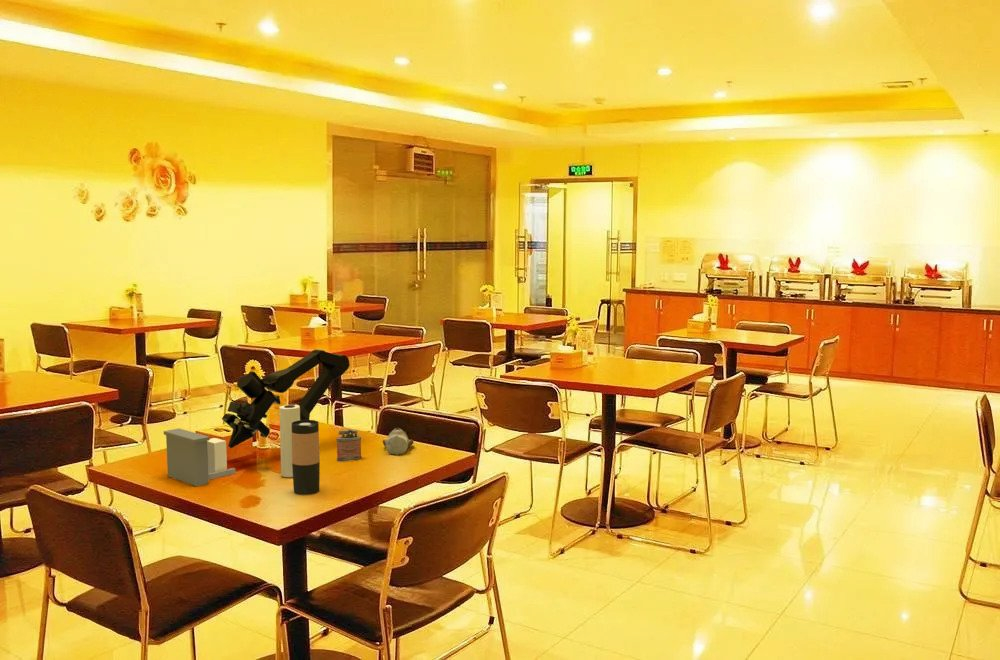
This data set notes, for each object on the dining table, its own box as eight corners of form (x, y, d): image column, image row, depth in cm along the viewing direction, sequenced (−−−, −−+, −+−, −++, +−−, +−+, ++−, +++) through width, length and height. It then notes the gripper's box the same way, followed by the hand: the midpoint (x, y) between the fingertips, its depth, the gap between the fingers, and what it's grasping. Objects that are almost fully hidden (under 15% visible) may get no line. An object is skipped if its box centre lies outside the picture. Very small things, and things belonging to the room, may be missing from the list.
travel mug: (296, 487, 251) (295, 419, 248) (323, 487, 250) (321, 419, 248) (289, 495, 243) (287, 425, 241) (316, 495, 243) (315, 425, 241)
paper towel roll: (288, 479, 259) (286, 409, 257) (277, 475, 263) (275, 406, 261) (308, 474, 264) (307, 405, 262) (297, 470, 268) (295, 402, 266)
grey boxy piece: (212, 466, 273) (210, 422, 272) (243, 475, 262) (241, 430, 261) (165, 476, 261) (163, 431, 260) (195, 487, 250) (193, 439, 249)
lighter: (360, 457, 284) (360, 427, 283) (362, 460, 281) (361, 429, 280) (336, 459, 282) (335, 429, 281) (337, 462, 279) (336, 431, 277)
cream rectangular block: (216, 469, 268) (215, 437, 267) (227, 472, 265) (226, 440, 263) (204, 472, 265) (203, 440, 264) (215, 475, 261) (214, 443, 260)
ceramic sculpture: (380, 430, 284) (383, 423, 299) (380, 456, 285) (383, 448, 300) (412, 430, 285) (414, 423, 300) (412, 456, 286) (414, 448, 300)
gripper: (226, 388, 276) (196, 427, 269) (260, 395, 264) (229, 436, 257) (248, 408, 283) (219, 448, 276) (282, 416, 271) (253, 457, 264)
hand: (229, 447), depth 268 cm, fingers closed
